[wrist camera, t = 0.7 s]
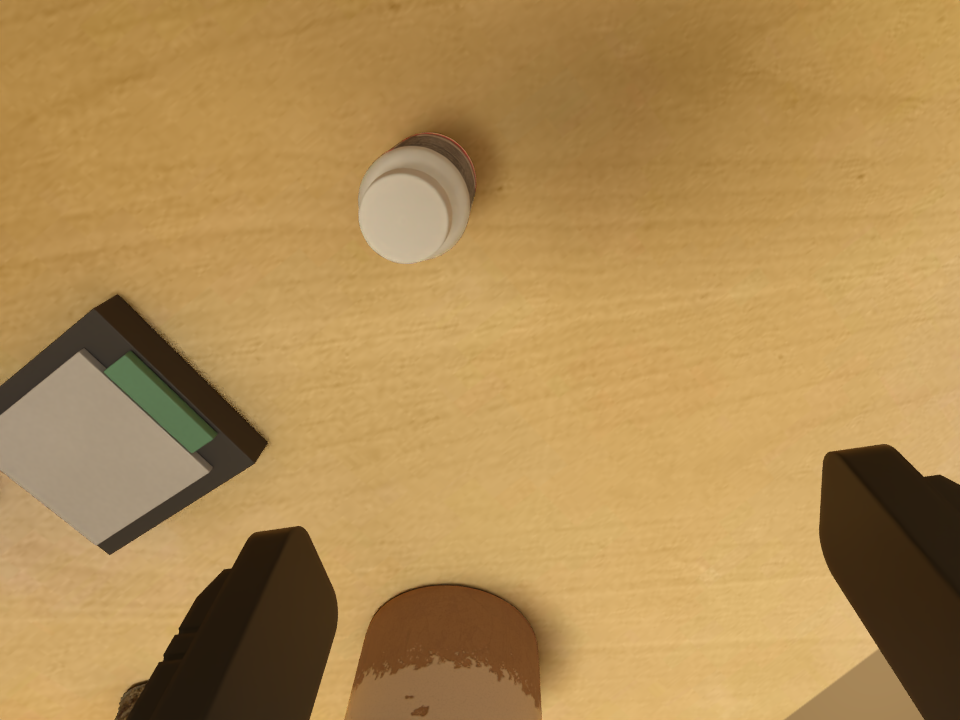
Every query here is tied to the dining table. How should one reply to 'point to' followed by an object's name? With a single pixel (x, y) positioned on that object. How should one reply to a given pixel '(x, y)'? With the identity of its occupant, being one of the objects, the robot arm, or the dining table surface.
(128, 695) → the cake
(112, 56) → the dining table surface
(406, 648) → the vase
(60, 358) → the scale
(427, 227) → the pill bottle
